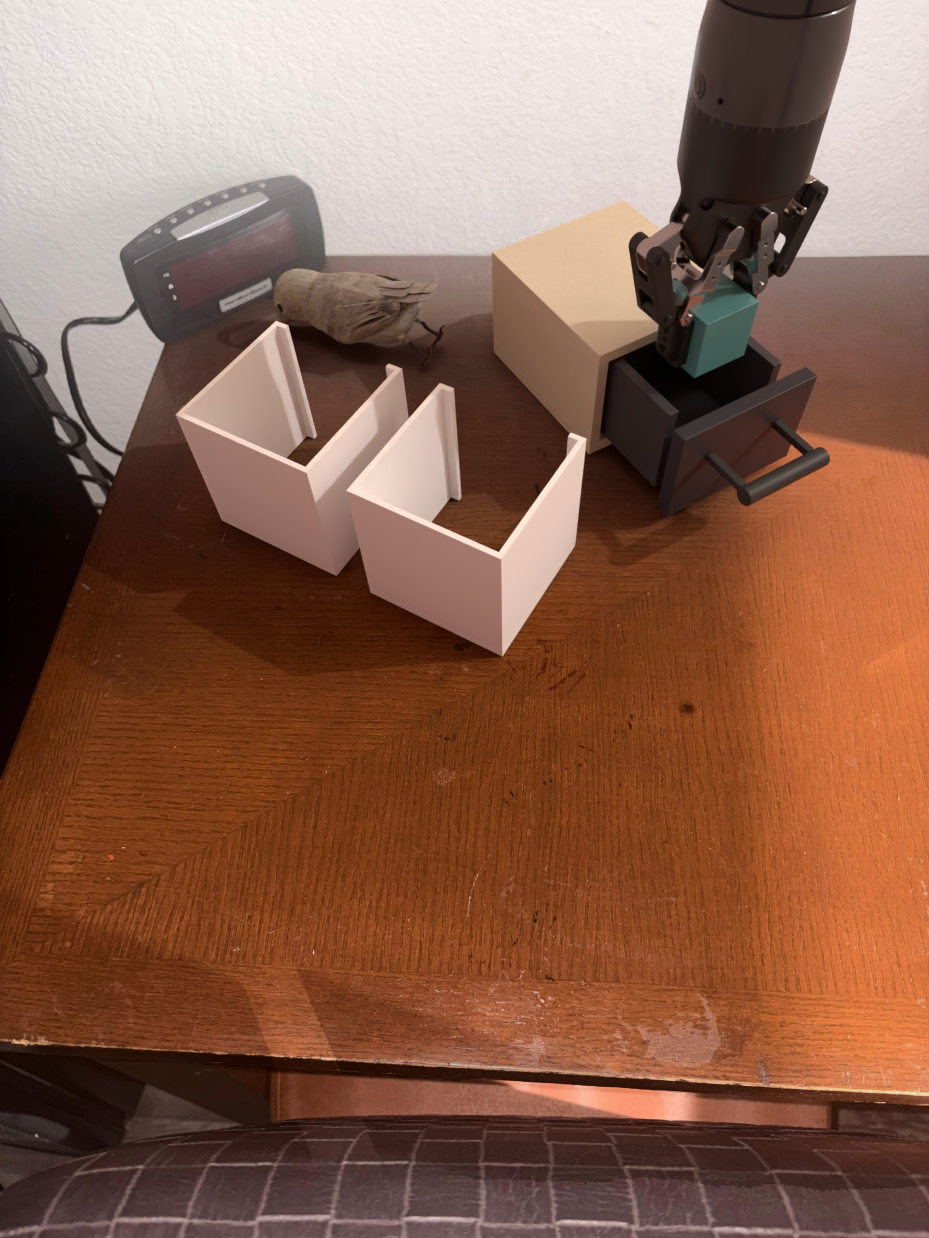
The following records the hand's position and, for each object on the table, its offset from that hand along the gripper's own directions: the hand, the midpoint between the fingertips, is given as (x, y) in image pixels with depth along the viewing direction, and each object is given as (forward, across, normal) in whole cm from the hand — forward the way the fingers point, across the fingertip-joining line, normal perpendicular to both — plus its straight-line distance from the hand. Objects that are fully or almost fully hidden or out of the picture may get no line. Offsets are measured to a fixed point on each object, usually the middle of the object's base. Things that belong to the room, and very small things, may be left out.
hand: (700, 345), depth 59 cm
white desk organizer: (+10, -23, +4) cm, 26 cm away
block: (0, 0, 0) cm, 0 cm away
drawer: (+9, 0, -2) cm, 9 cm away
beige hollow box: (+10, 0, +10) cm, 14 cm away
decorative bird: (+10, -16, +26) cm, 32 cm away
